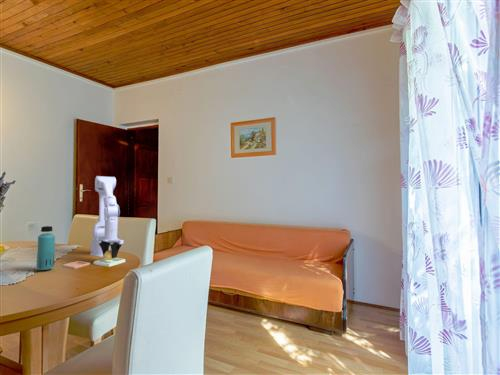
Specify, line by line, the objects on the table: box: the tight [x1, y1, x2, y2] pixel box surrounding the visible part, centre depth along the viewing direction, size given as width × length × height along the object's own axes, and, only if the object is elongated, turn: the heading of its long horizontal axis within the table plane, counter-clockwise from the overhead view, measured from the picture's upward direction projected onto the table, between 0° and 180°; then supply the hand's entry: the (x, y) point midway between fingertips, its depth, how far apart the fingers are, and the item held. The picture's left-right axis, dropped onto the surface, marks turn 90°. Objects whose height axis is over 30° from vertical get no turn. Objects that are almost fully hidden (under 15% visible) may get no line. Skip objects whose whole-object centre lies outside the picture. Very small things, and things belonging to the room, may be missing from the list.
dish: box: [61, 260, 91, 270], centre depth 130 cm, size 8×8×1 cm
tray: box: [93, 257, 126, 268], centre depth 136 cm, size 10×10×2 cm
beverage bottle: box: [35, 225, 56, 271], centre depth 121 cm, size 6×7×20 cm
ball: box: [103, 249, 113, 260], centre depth 136 cm, size 5×5×5 cm
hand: (109, 257), depth 136 cm, fingers closed on ball, 5 cm apart
